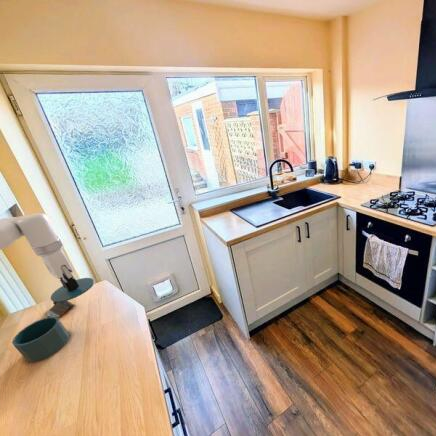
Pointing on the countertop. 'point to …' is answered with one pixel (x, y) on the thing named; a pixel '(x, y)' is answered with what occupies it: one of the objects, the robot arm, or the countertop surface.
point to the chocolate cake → (58, 309)
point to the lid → (65, 294)
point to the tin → (41, 339)
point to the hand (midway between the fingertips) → (71, 287)
